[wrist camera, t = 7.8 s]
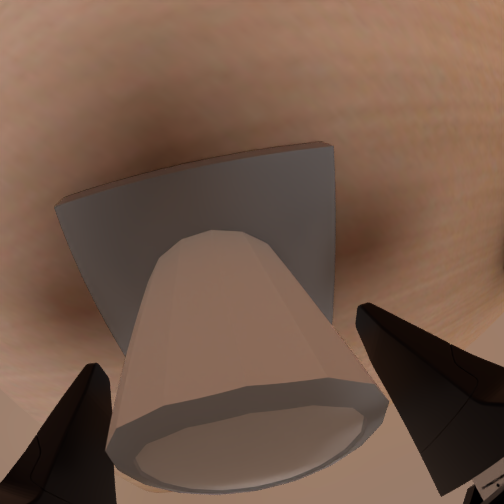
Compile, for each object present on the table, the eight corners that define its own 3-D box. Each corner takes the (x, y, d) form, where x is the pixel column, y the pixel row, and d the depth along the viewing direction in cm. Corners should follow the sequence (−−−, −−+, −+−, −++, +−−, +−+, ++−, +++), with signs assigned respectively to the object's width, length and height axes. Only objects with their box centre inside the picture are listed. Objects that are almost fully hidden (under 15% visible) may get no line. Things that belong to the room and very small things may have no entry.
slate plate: (321, 141, 10) (333, 145, 10) (323, 331, 16) (330, 344, 15) (63, 197, 9) (54, 207, 8) (145, 371, 14) (144, 385, 14)
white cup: (262, 177, 10) (380, 314, 4) (321, 311, 13) (393, 440, 7) (97, 269, 10) (43, 440, 4) (191, 371, 14) (208, 505, 7)
